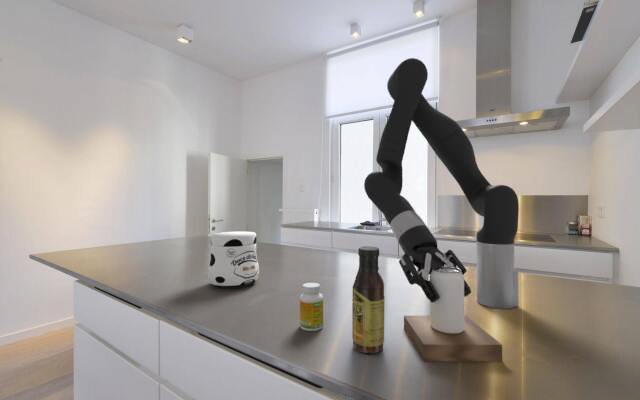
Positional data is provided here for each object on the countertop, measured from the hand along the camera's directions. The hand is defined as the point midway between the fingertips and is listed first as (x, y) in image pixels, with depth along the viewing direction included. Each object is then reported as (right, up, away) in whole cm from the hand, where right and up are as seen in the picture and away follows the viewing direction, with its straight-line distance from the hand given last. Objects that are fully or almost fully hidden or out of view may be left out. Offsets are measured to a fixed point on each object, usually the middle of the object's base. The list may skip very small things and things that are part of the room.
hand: (452, 297), depth 60 cm
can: (-1, -7, +1) cm, 7 cm away
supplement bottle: (-28, -10, +10) cm, 32 cm away
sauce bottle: (-17, -10, -1) cm, 20 cm away
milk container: (-57, -11, +46) cm, 74 cm away
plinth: (0, -10, +1) cm, 10 cm away
